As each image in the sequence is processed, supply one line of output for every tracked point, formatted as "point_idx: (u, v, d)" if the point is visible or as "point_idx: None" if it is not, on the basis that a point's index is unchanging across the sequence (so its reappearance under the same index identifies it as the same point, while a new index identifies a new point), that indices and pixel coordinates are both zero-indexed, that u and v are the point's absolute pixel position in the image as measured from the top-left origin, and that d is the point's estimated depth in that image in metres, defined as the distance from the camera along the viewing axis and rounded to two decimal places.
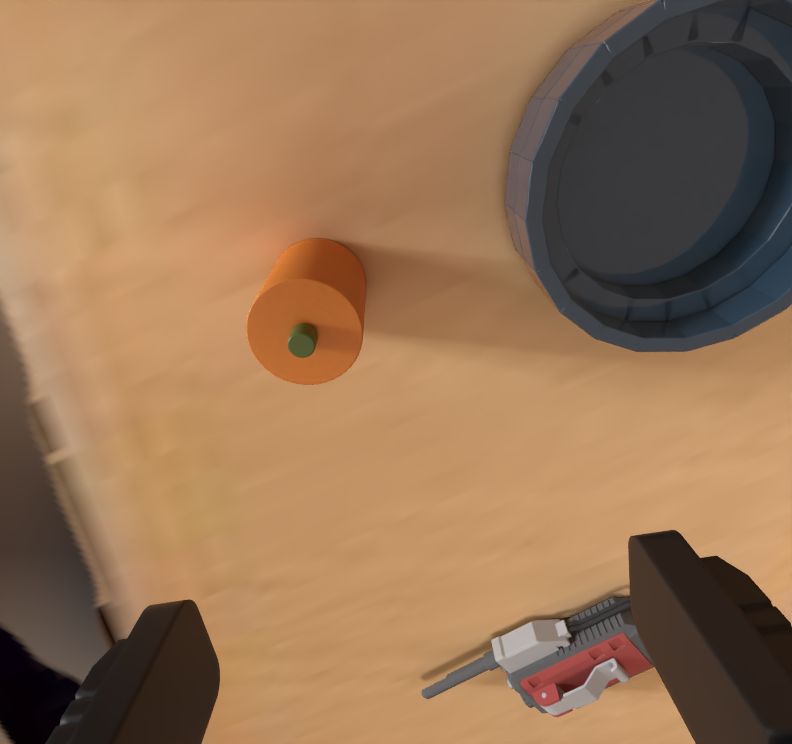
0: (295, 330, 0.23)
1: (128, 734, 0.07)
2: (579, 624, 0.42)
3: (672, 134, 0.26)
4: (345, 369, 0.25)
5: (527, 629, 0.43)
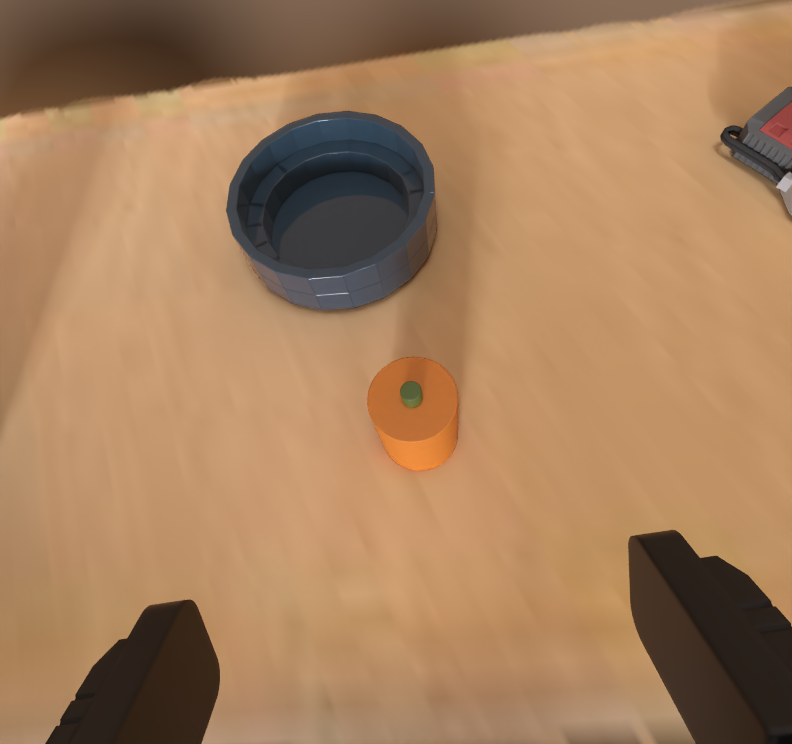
0: (401, 398, 0.30)
1: (128, 734, 0.07)
2: (773, 170, 0.41)
3: (316, 226, 0.44)
4: (442, 368, 0.31)
5: None
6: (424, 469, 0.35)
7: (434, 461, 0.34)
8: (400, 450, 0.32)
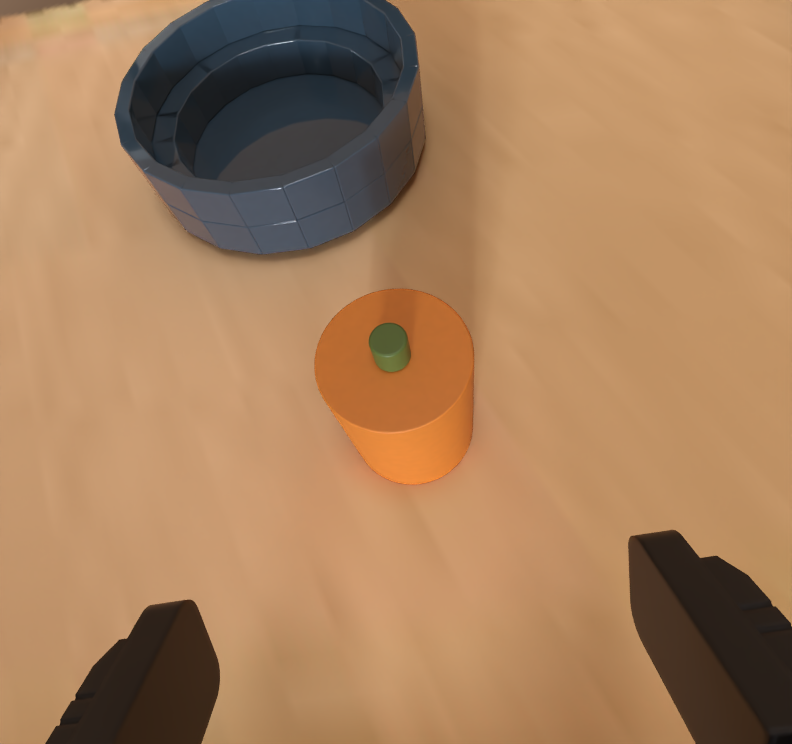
0: (372, 355, 0.16)
1: (128, 734, 0.07)
2: None
3: (256, 145, 0.31)
4: (442, 303, 0.18)
5: None
6: (422, 482, 0.22)
7: (437, 468, 0.21)
8: (377, 450, 0.18)
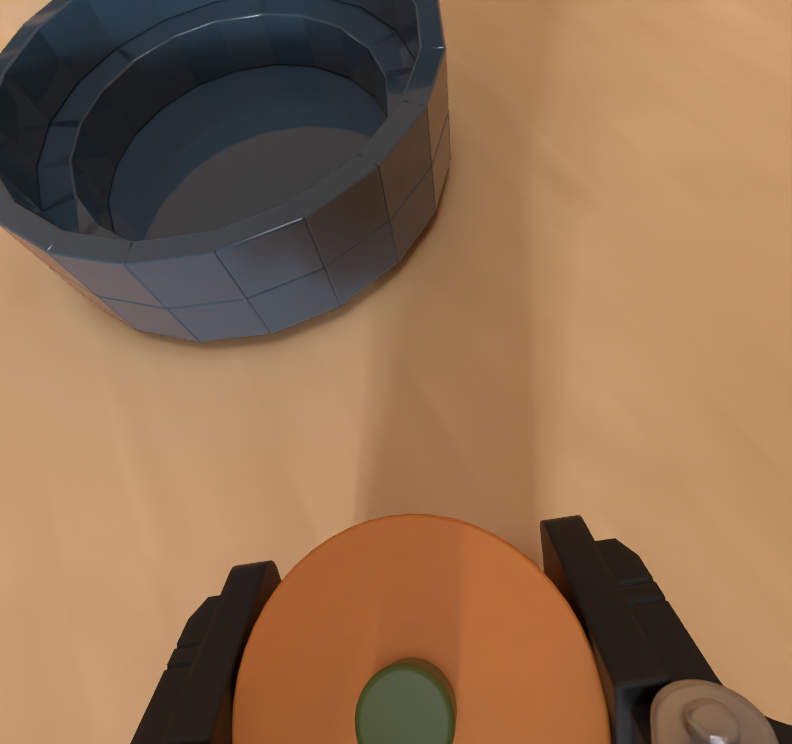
0: None
1: None
2: None
3: (200, 167, 0.21)
4: (524, 562, 0.08)
5: None
6: None
7: None
8: None
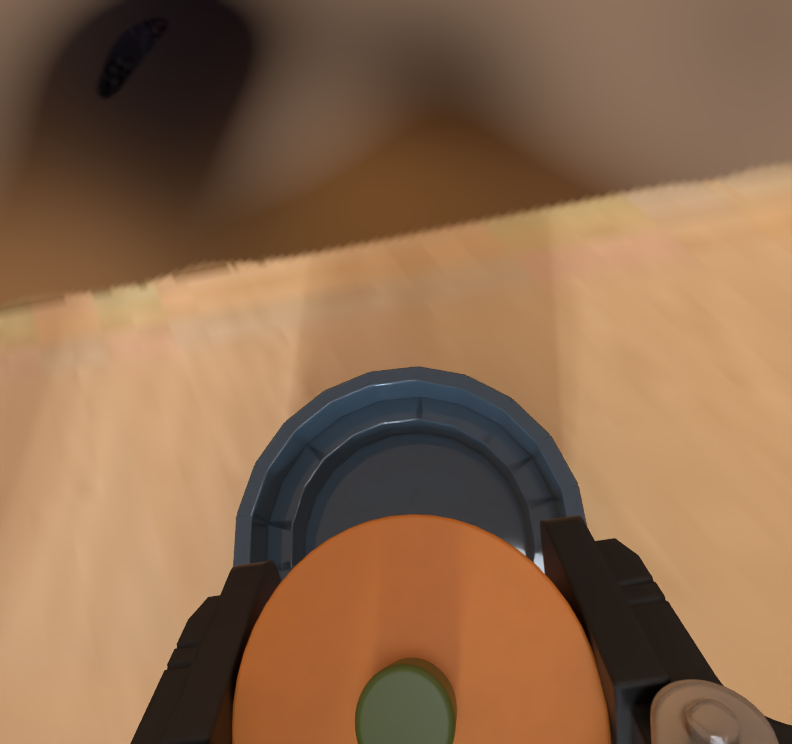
0: None
1: None
2: None
3: None
4: (524, 562, 0.08)
5: None
6: None
7: None
8: None
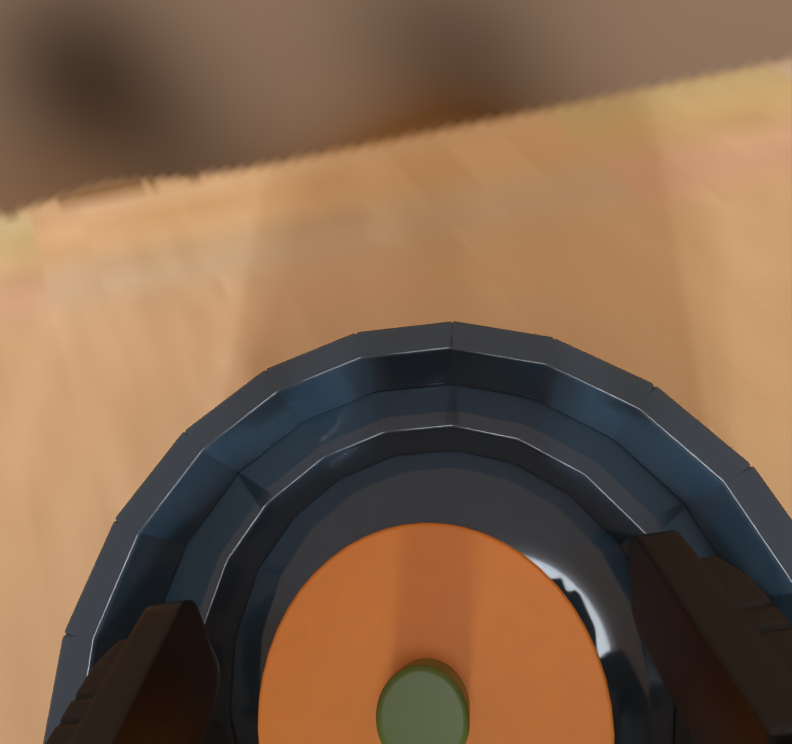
0: (386, 740, 0.07)
1: (128, 734, 0.07)
2: None
3: None
4: (531, 568, 0.08)
5: None
6: None
7: None
8: None
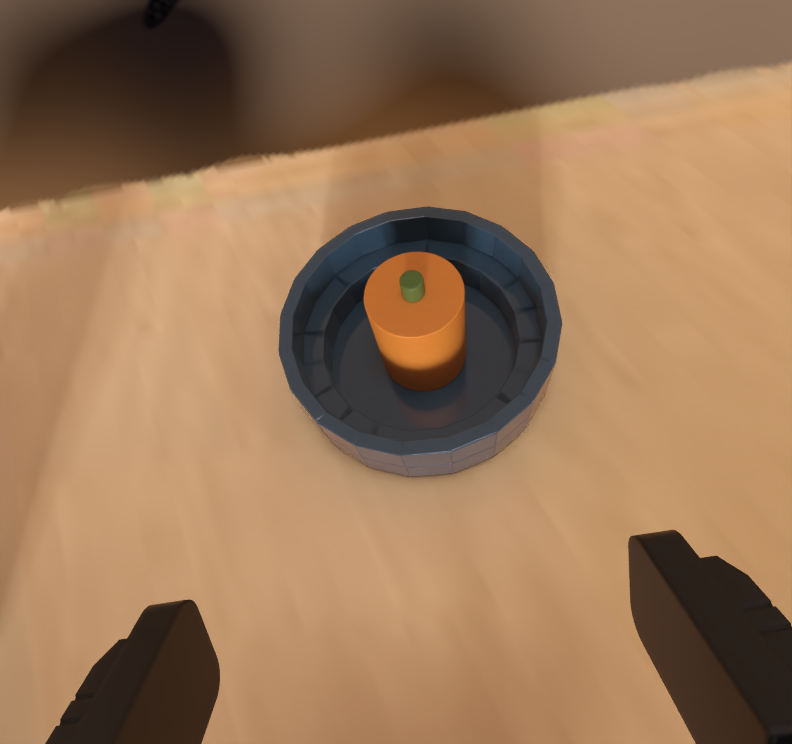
0: (402, 290, 0.27)
1: (128, 734, 0.07)
2: None
3: None
4: (445, 260, 0.28)
5: None
6: (431, 389, 0.32)
7: (441, 376, 0.31)
8: (403, 356, 0.28)
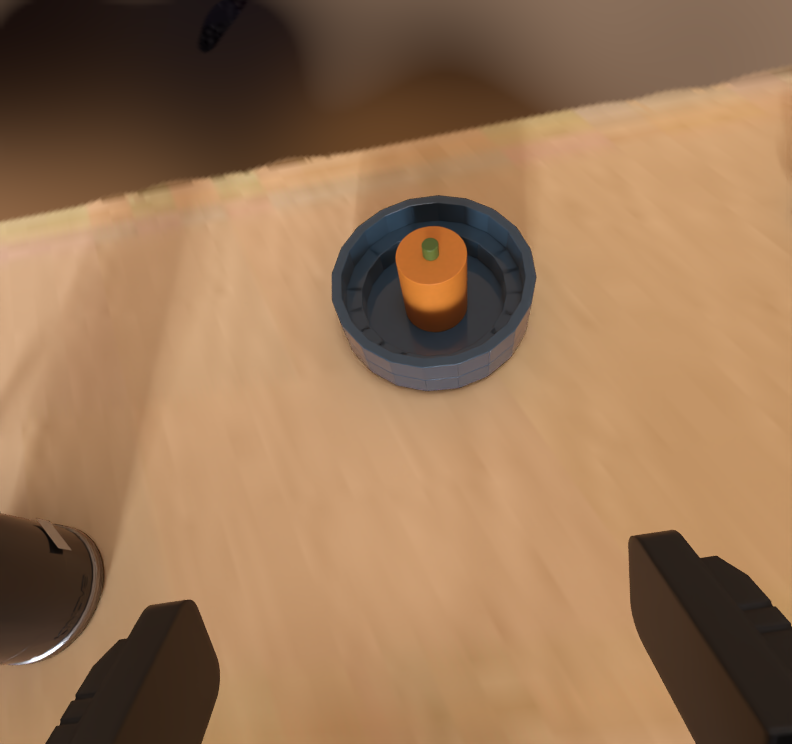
0: (423, 252, 0.38)
1: (128, 734, 0.07)
2: None
3: None
4: (453, 232, 0.39)
5: None
6: (441, 330, 0.44)
7: (449, 318, 0.42)
8: (423, 300, 0.40)
